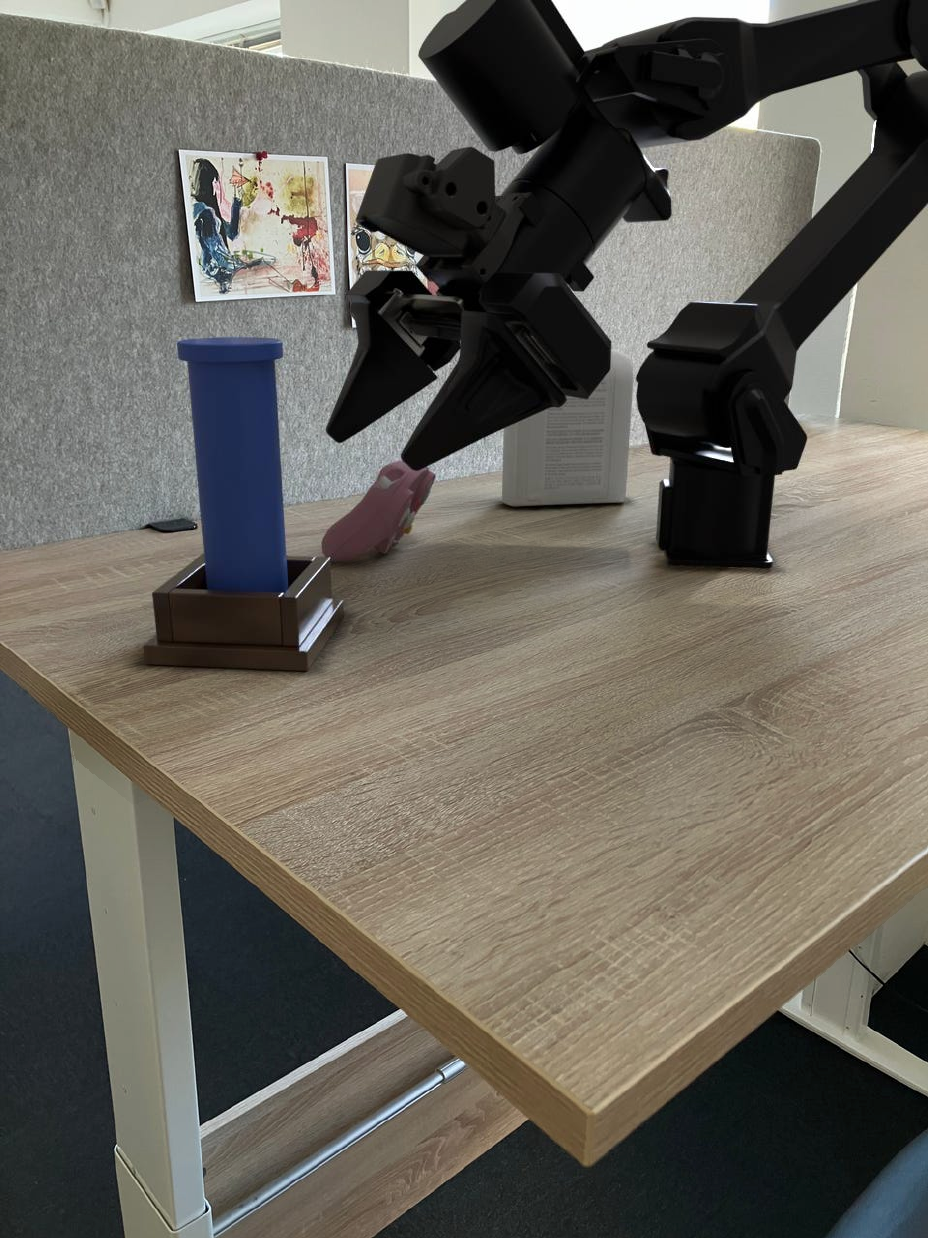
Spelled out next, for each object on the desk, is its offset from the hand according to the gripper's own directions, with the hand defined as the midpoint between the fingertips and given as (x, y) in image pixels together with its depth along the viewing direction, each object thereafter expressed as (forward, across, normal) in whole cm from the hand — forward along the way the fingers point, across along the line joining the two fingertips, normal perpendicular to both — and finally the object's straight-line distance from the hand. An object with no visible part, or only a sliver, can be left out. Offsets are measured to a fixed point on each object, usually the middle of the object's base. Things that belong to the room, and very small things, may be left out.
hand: (367, 450), depth 53 cm
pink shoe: (+2, -13, +11) cm, 17 cm away
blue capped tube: (+10, 0, +1) cm, 11 cm away
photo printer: (-11, -18, +25) cm, 32 cm away
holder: (+11, 0, +2) cm, 11 cm away
